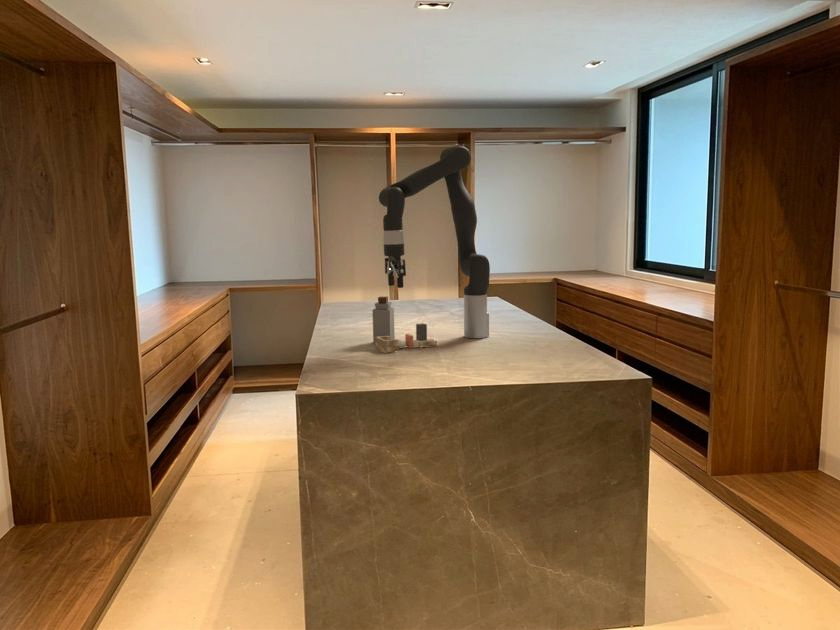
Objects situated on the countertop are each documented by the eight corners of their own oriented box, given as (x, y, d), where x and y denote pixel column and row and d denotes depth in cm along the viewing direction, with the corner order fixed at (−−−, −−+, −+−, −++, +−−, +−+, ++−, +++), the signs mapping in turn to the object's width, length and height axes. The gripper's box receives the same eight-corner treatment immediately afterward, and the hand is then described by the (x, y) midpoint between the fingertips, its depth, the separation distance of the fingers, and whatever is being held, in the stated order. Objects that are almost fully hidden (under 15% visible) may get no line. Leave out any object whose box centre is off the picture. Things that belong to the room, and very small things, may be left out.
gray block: (429, 343, 248) (429, 322, 246) (435, 345, 244) (434, 324, 243) (405, 346, 243) (405, 324, 242) (410, 348, 240) (410, 326, 238)
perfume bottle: (390, 344, 247) (389, 298, 245) (373, 344, 249) (372, 298, 246) (394, 341, 254) (393, 296, 251) (378, 341, 255) (376, 295, 252)
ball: (403, 347, 243) (403, 337, 242) (407, 348, 239) (407, 339, 239) (394, 348, 241) (394, 338, 241) (398, 349, 238) (398, 340, 237)
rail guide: (430, 343, 249) (430, 338, 248) (437, 346, 243) (437, 340, 243) (413, 345, 246) (413, 340, 245) (420, 348, 240) (420, 342, 240)
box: (389, 347, 243) (388, 335, 242) (398, 351, 235) (398, 339, 234) (375, 348, 241) (375, 337, 240) (384, 353, 233) (384, 341, 232)
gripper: (411, 242, 232) (412, 287, 235) (395, 241, 245) (397, 284, 247) (391, 244, 229) (393, 289, 232) (377, 242, 242) (379, 285, 244)
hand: (395, 286), depth 240 cm, fingers open, 8 cm apart
